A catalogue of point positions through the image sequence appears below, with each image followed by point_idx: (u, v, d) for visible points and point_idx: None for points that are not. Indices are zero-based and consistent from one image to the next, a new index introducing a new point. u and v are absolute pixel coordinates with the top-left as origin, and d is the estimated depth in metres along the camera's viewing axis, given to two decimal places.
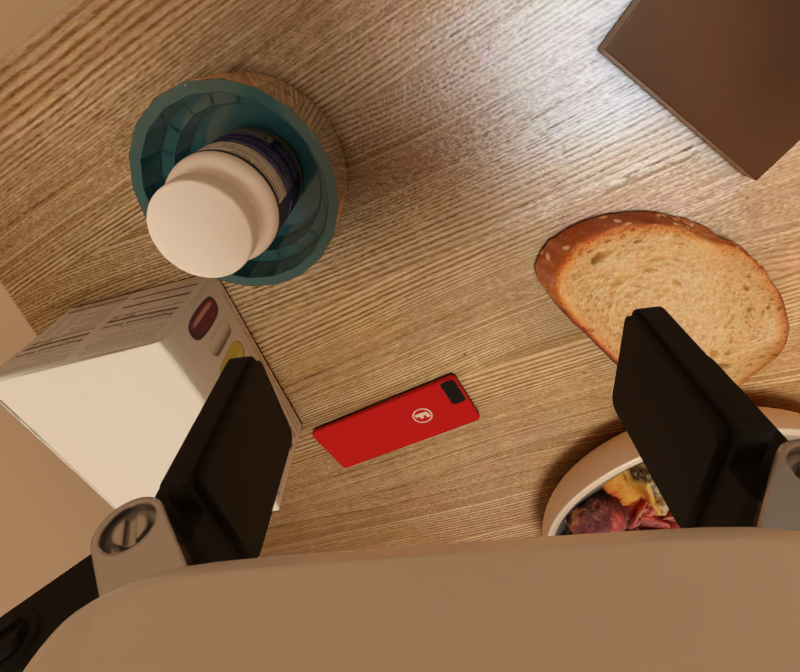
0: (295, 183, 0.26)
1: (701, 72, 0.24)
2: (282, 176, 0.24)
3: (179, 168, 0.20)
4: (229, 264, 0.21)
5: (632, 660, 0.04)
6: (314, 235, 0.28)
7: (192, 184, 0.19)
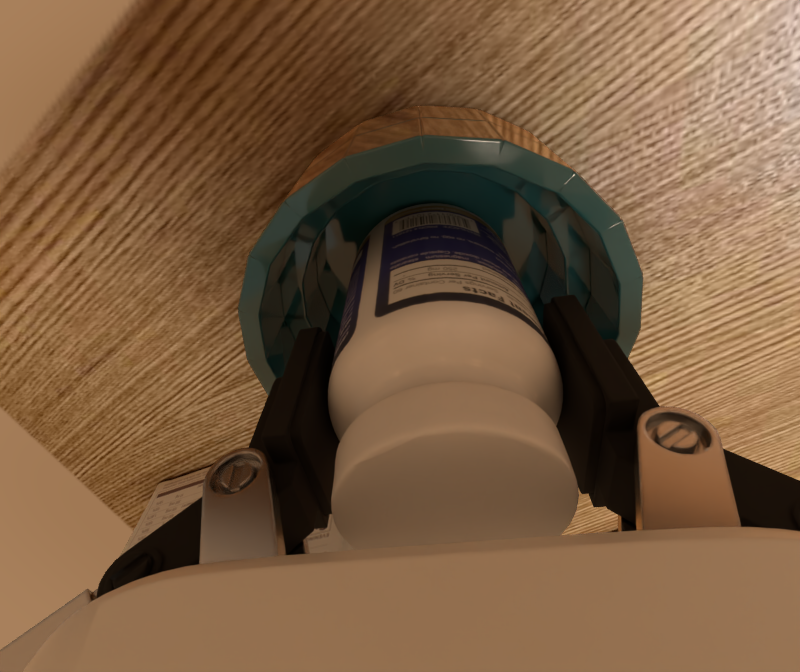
0: None
1: None
2: (528, 299, 0.12)
3: (370, 355, 0.09)
4: None
5: (632, 660, 0.04)
6: None
7: (454, 435, 0.07)
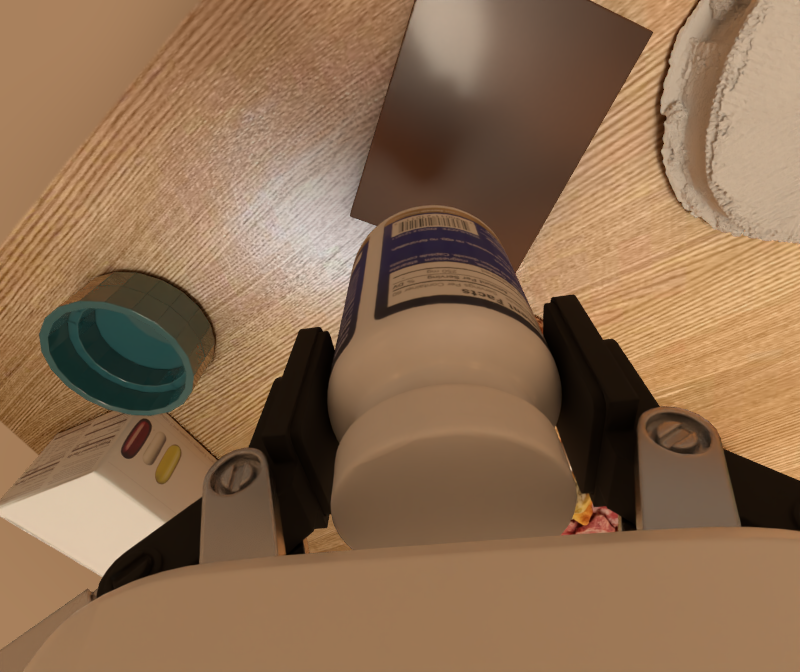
0: None
1: None
2: (527, 301, 0.12)
3: (369, 358, 0.09)
4: None
5: (632, 660, 0.04)
6: None
7: (452, 438, 0.07)
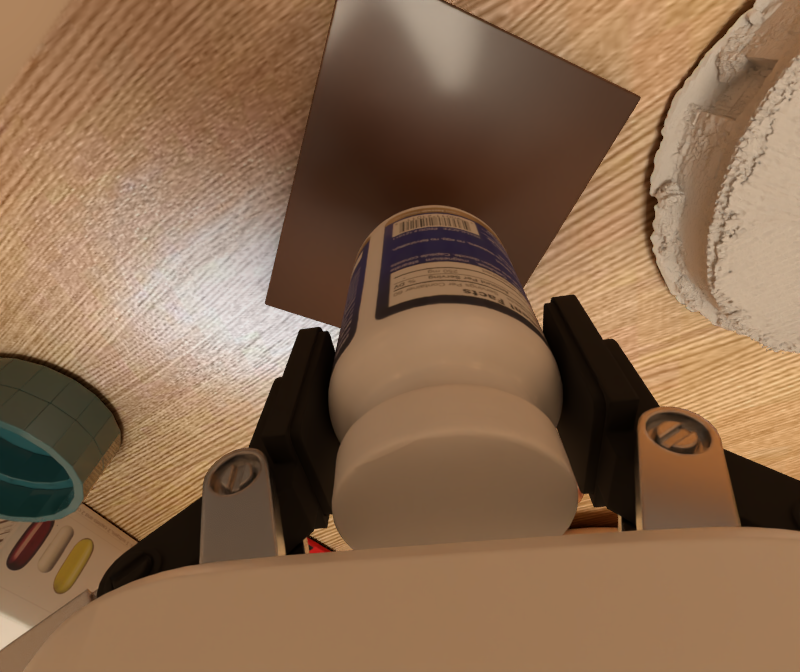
0: None
1: None
2: (528, 301, 0.12)
3: (370, 358, 0.09)
4: None
5: (632, 660, 0.04)
6: None
7: (454, 438, 0.07)
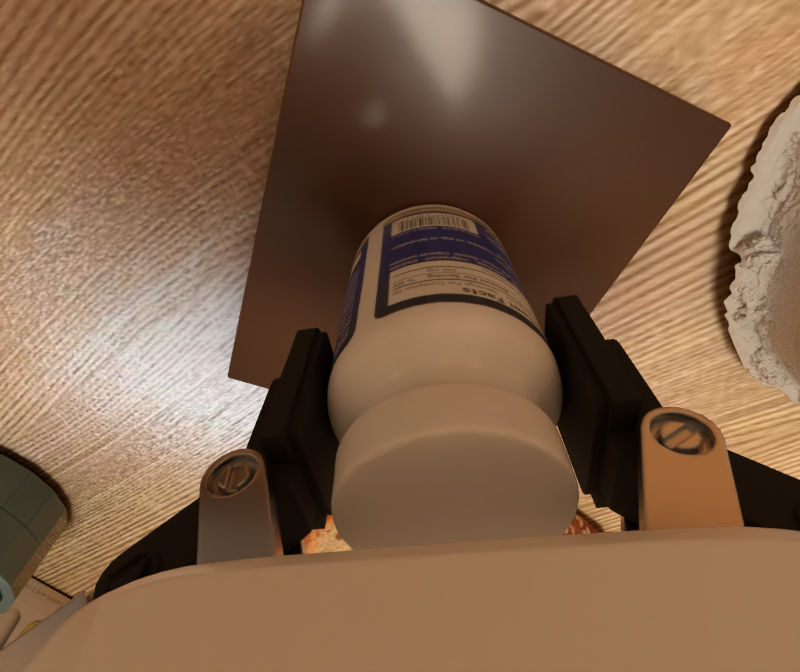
0: None
1: None
2: (527, 300, 0.12)
3: (370, 357, 0.09)
4: None
5: (632, 660, 0.04)
6: None
7: (455, 436, 0.07)
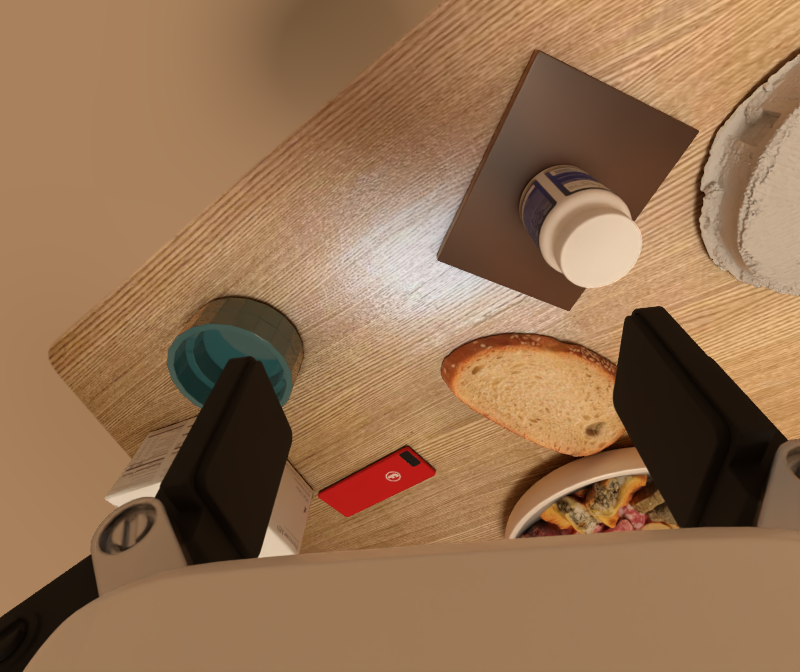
0: None
1: (503, 262, 0.37)
2: None
3: (568, 206, 0.26)
4: (615, 274, 0.26)
5: (632, 660, 0.04)
6: (285, 382, 0.43)
7: (609, 216, 0.24)
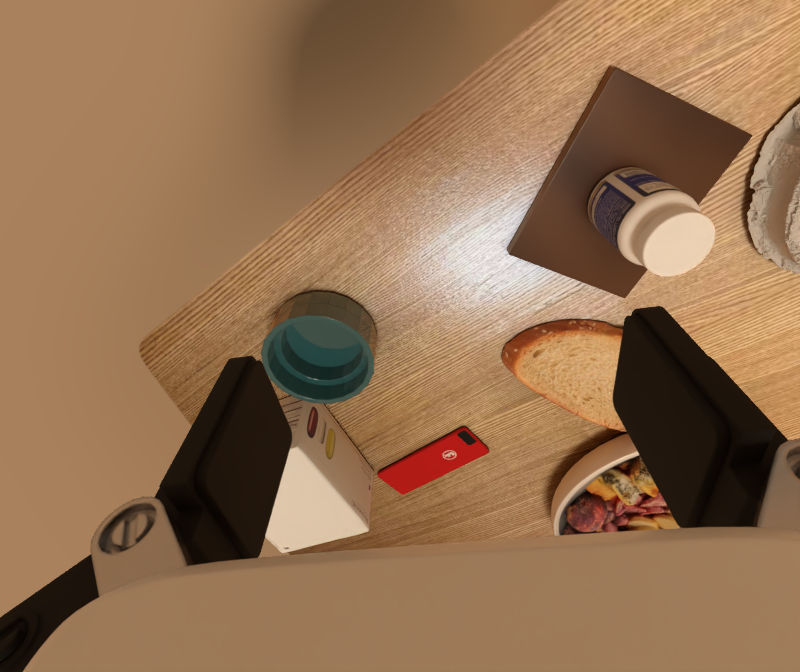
0: None
1: (568, 255, 0.41)
2: None
3: (647, 206, 0.30)
4: (689, 264, 0.30)
5: (631, 660, 0.04)
6: (362, 368, 0.47)
7: (689, 214, 0.28)
